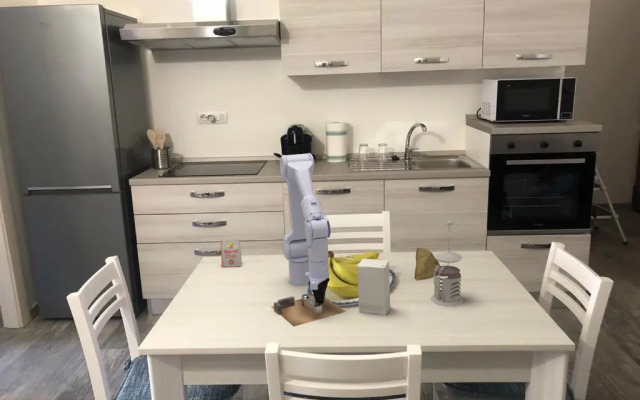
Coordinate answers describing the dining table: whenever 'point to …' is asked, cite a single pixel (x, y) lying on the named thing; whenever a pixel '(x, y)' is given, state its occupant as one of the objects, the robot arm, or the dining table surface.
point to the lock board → (303, 310)
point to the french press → (447, 279)
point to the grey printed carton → (230, 253)
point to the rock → (425, 264)
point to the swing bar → (311, 304)
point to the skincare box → (373, 286)
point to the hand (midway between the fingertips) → (319, 302)
